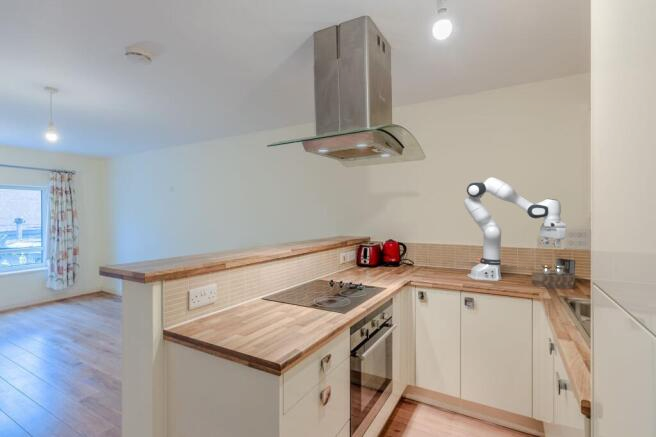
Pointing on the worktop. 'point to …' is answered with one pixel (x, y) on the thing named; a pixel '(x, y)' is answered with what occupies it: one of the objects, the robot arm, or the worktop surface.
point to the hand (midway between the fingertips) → (551, 245)
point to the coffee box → (567, 266)
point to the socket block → (553, 281)
